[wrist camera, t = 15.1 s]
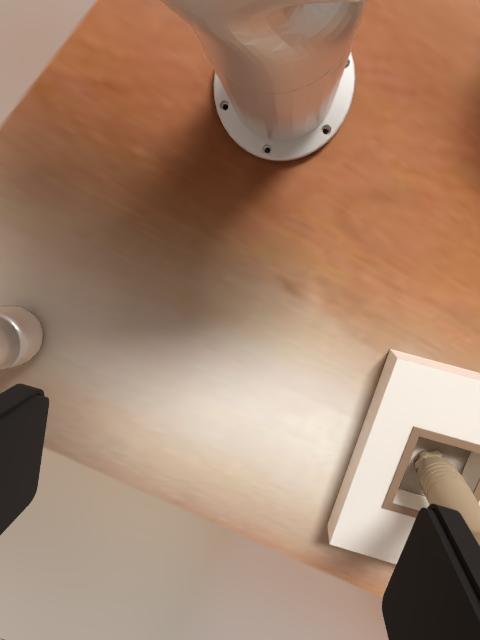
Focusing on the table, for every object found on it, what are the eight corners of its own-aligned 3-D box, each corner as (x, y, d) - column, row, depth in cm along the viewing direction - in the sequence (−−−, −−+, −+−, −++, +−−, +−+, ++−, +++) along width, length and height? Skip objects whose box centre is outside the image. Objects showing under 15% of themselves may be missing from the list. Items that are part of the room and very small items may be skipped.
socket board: (390, 349, 42) (397, 358, 39) (548, 391, 41) (569, 405, 38) (327, 524, 48) (329, 545, 45) (465, 566, 47) (477, 590, 44)
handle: (469, 462, 44) (556, 580, 29) (416, 492, 45) (474, 619, 31) (442, 428, 43) (518, 531, 29) (390, 460, 45) (437, 573, 30)
